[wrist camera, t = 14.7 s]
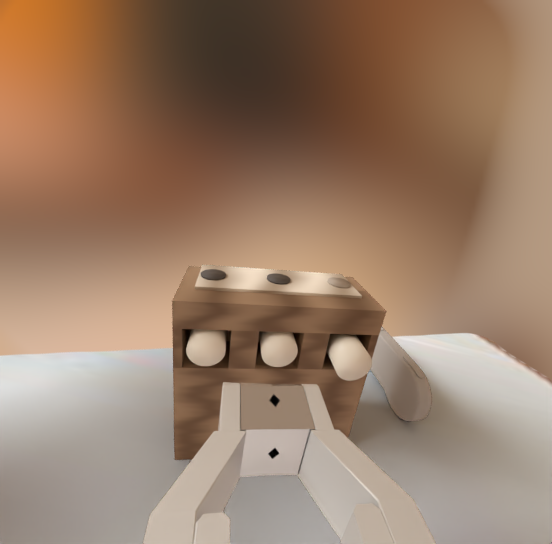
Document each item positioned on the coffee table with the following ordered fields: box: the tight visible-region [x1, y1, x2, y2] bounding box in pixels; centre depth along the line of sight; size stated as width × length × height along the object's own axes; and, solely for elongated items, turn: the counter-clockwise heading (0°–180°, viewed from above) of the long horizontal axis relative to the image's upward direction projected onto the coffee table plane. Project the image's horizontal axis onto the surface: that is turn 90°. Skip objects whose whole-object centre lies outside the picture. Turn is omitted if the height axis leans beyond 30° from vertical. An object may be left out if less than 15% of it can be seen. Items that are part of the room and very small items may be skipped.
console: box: [172, 265, 386, 460], centre depth 33 cm, size 20×8×20 cm, turn 97°
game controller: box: [370, 327, 432, 421], centre depth 45 cm, size 20×2×8 cm, turn 9°
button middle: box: [259, 331, 298, 367], centre depth 29 cm, size 4×4×4 cm
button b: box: [326, 334, 372, 381], centre depth 28 cm, size 4×4×4 cm
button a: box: [186, 329, 227, 366], centre depth 27 cm, size 4×4×4 cm
